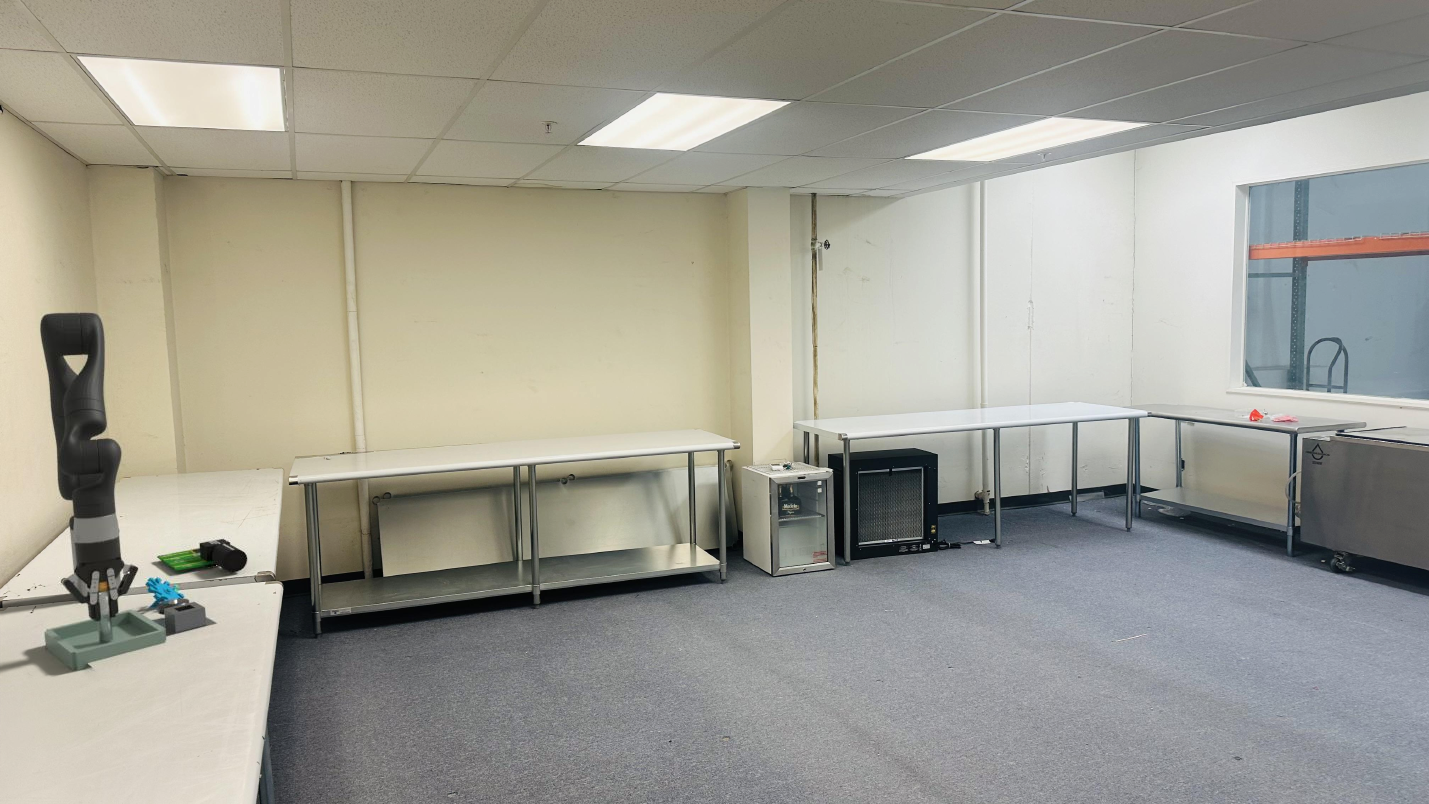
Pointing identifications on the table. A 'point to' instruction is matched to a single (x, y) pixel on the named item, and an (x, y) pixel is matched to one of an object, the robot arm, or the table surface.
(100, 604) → the capped test tube
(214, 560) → the electronic board model
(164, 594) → the blue jagged piece
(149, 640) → the tray
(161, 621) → the grey slotted holder
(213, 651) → the table surface
